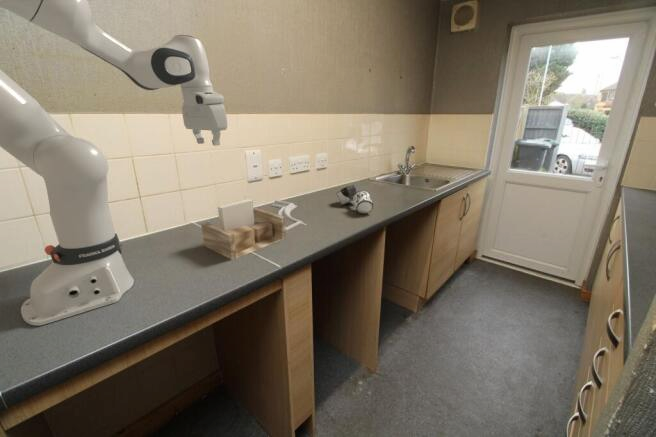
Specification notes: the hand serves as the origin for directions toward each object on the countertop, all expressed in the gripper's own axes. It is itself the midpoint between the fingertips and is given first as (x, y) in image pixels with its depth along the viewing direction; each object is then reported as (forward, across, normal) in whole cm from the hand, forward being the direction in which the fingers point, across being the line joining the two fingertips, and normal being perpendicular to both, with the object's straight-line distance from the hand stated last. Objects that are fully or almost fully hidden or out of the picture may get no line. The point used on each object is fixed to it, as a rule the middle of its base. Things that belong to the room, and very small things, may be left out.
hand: (208, 144), depth 99 cm
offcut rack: (+34, +10, +1) cm, 36 cm away
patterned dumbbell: (+39, +13, +60) cm, 73 cm away
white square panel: (+33, +6, +1) cm, 33 cm away
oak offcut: (+32, +12, -3) cm, 35 cm away
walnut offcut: (+33, +11, +7) cm, 36 cm away
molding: (+37, -4, +30) cm, 48 cm away
